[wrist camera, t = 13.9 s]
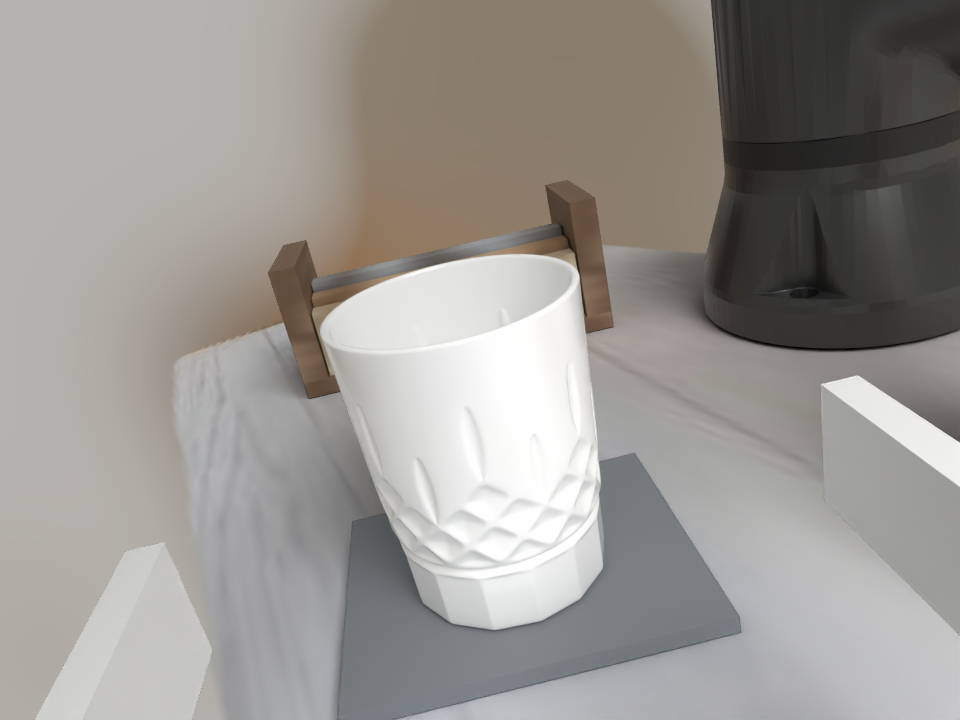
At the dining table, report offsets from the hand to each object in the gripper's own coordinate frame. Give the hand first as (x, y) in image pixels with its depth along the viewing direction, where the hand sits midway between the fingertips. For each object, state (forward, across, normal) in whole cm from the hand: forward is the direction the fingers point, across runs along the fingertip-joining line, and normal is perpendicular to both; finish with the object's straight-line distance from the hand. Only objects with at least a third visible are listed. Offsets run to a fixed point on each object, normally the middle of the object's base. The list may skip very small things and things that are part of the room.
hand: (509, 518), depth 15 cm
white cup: (+9, 0, -8) cm, 12 cm away
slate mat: (+9, 0, -9) cm, 13 cm away
